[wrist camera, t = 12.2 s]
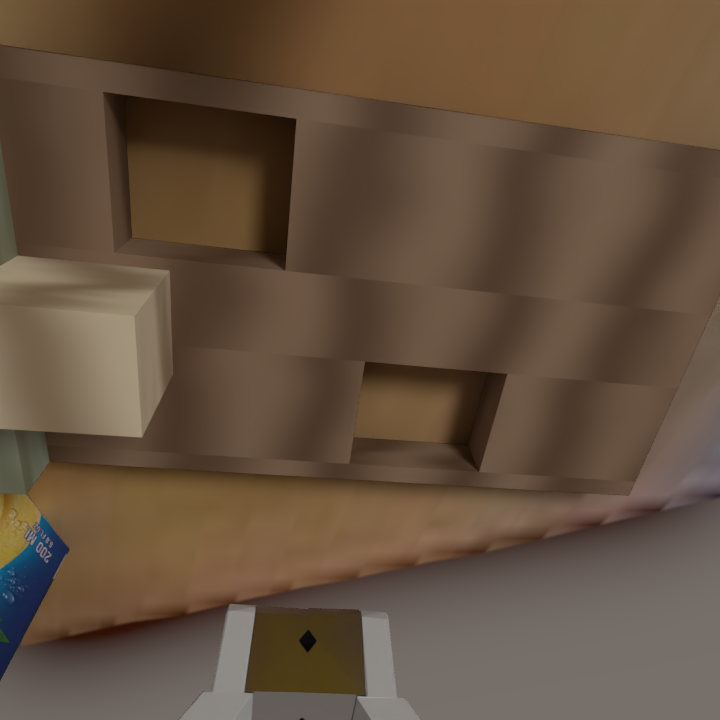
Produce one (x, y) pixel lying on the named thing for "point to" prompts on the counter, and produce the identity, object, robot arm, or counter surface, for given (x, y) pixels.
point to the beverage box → (24, 568)
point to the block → (83, 346)
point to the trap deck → (381, 281)
